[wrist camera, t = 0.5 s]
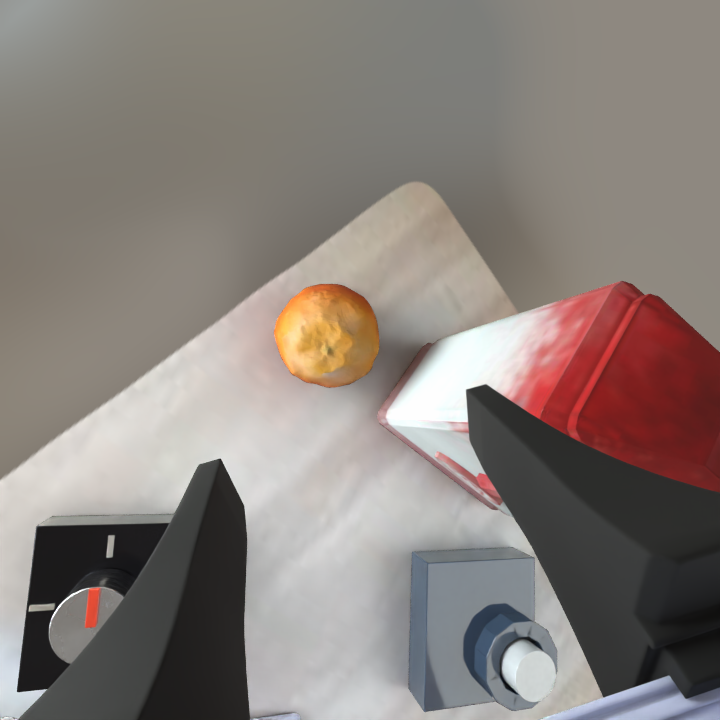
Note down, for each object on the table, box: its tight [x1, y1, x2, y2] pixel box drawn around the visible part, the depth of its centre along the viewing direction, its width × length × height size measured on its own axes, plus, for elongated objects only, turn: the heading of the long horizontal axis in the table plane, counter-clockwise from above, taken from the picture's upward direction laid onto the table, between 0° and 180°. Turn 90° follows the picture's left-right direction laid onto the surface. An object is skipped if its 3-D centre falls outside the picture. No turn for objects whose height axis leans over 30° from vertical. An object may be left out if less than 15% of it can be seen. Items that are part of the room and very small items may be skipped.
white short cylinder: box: [500, 639, 556, 702], centre depth 36 cm, size 4×4×2 cm
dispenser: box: [409, 547, 557, 712], centre depth 39 cm, size 11×11×5 cm
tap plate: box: [17, 514, 174, 692], centre depth 32 cm, size 10×9×3 cm
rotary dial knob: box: [49, 569, 136, 664], centre depth 29 cm, size 4×4×4 cm
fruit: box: [274, 284, 379, 388], centre depth 37 cm, size 8×8×8 cm
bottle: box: [377, 281, 720, 517], centre depth 29 cm, size 14×10×30 cm
